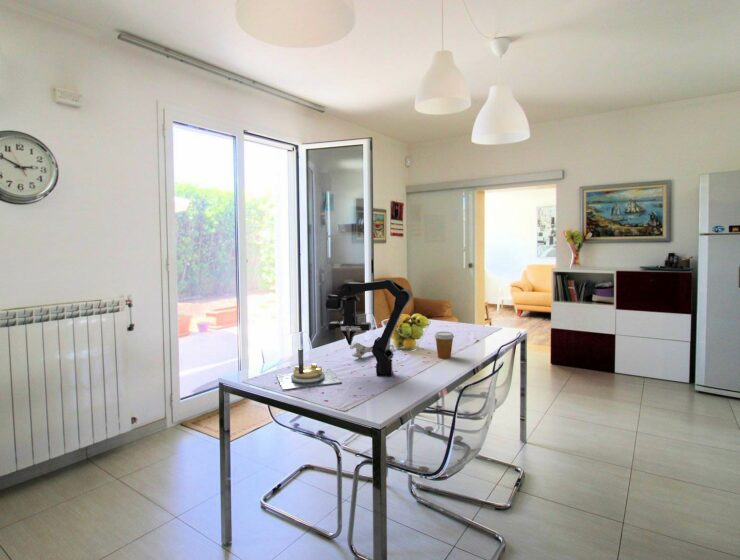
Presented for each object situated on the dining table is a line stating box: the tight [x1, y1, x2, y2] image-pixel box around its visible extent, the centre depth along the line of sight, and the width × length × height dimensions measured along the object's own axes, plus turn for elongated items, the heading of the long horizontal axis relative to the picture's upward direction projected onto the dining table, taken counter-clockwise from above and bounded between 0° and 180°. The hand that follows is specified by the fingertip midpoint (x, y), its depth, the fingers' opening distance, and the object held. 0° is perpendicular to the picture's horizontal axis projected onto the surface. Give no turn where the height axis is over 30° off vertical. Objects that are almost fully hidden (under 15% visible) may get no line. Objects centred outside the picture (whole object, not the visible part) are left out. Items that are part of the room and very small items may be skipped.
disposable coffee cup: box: [434, 331, 455, 359], centre depth 214 cm, size 10×10×12 cm
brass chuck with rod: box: [292, 348, 323, 379], centre depth 181 cm, size 12×12×12 cm
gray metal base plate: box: [276, 368, 343, 391], centre depth 182 cm, size 24×20×2 cm
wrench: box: [349, 342, 395, 359], centre depth 221 cm, size 8×2×30 cm
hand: (349, 345), depth 192 cm, fingers closed
